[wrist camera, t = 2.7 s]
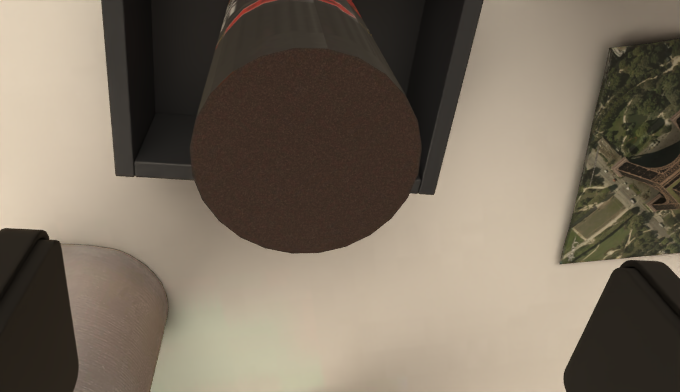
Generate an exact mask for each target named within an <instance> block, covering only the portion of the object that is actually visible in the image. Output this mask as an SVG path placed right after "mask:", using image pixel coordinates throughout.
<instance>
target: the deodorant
mask: <svg viewBox="0 0 680 392" xmlns="http://www.w3.org/2000/svg"><path fill="white" fill-rule="evenodd" d="M421 151H422V145H421V138H420V131H419V125H418V120H417V118H416V116H415V114H414V112H413V110H412V108H411V106H410V103H409V101H408V99H407V97H406V95H405V93H404V92H403V90H402V88H401V86H400V85H399V83H398V81H397V79H396V78H395V76H394V74H393V72H392V71H391V69H390V67H389V65H388V63H387V62H386V60H385V58H384V56H383V55H382V53H381V51H380V49H379V48H378V46H377V44H376V42H375V41H374V39H373V37H372V35H371V34H370V32H369V30H368V28H367V26H366V25H365V23H364V21H363V19H362V18H361V16H360V14H359V12H358V11H357V9H356V7H355V5H354V4H353V2H352V0H229V3H228V6H227V10H226V13H225V17H224V21H223V24H222V28H221V31H220V35H219V38H218V42H217V45H216V49H215V52H214V56H213V59H212V63H211V67H210V70H209V74H208V77H207V81H206V84H205V88H204V91H203V95H202V98H201V102H200V105H199V109H198V113H197V116H196V120H195V124H194V129H193V134H192V139H191V144H190V157H191V167H192V176H193V178H194V181H195V183H196V185H197V188H198V190H199V193H200V195H201V198H202V200H203V201H204V203H205V204H206V205H207V206H208V208H209V209H210V210H211V211H212V213H213V214H214V215H215V216H216V218H217V219H218V220H219V221H220V222H221V223H222V224H224V225H225V226H226V227H228V228H229V229H230V230H232V231H233V232H234V233H236V234H237V235H238V236H239V237H241V238H243V239H245V240H248V241H250V242H252V243H255V244H257V245H259V246H261V247H264V248H267V249H272V250H277V251H282V252H288V253H321V252H325V251H329V250H333V249H338V248H342V247H346V246H348V245H350V244H352V243H354V242H356V241H359V240H361V239H363V238H365V237H367V236H369V235H371V234H372V233H373V232H375V231H376V230H377V229H378V228H380V227H381V226H382V225H384V224H385V223H386V222H387V221H389V220H390V219H391V218H392V217H393V216H394V214H395V213H396V212H397V211H398V209H399V208H400V207H401V206H402V204H403V203H404V202H405V201H406V199H407V198H408V196H409V194H410V191H411V189H412V187H413V185H414V182H415V180H416V178H417V176H418V172H419V165H420V158H421Z"/></svg>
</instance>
